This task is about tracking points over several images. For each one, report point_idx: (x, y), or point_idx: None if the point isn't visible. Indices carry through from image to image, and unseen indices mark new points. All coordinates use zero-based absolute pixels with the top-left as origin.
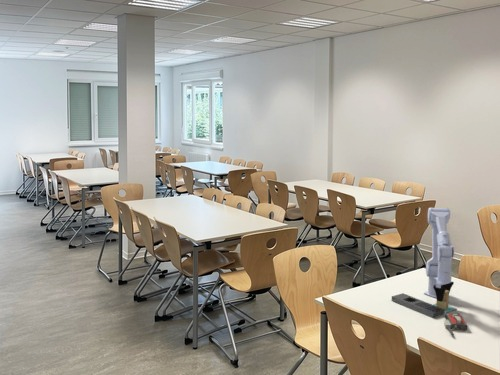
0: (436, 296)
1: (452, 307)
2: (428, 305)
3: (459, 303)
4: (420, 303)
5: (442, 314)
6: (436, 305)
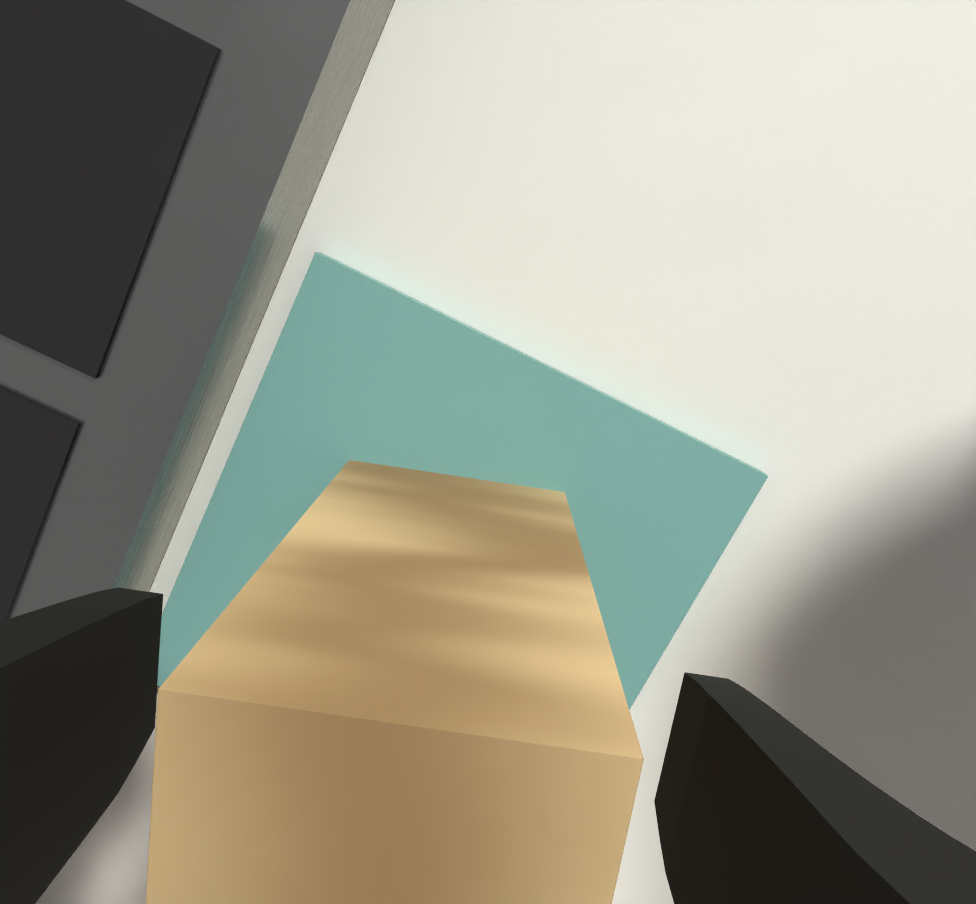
0: (2, 622)
1: None
2: (27, 320)
3: (956, 835)
4: (28, 54)
5: None
6: (336, 477)
